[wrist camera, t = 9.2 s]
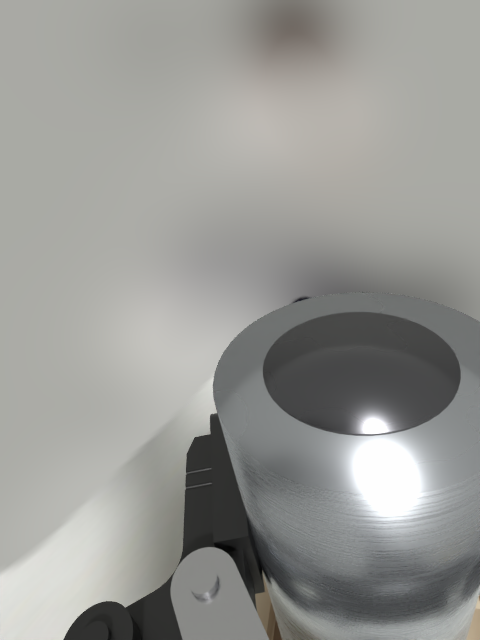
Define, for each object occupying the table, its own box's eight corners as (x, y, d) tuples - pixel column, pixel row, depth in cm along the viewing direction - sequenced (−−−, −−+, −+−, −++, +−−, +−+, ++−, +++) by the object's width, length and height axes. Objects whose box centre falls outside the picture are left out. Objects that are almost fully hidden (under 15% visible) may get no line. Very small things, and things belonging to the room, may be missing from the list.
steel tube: (268, 711, 11) (168, 473, 6) (291, 530, 15) (246, 295, 10) (477, 766, 9) (608, 515, 4) (439, 549, 13) (481, 284, 8)
